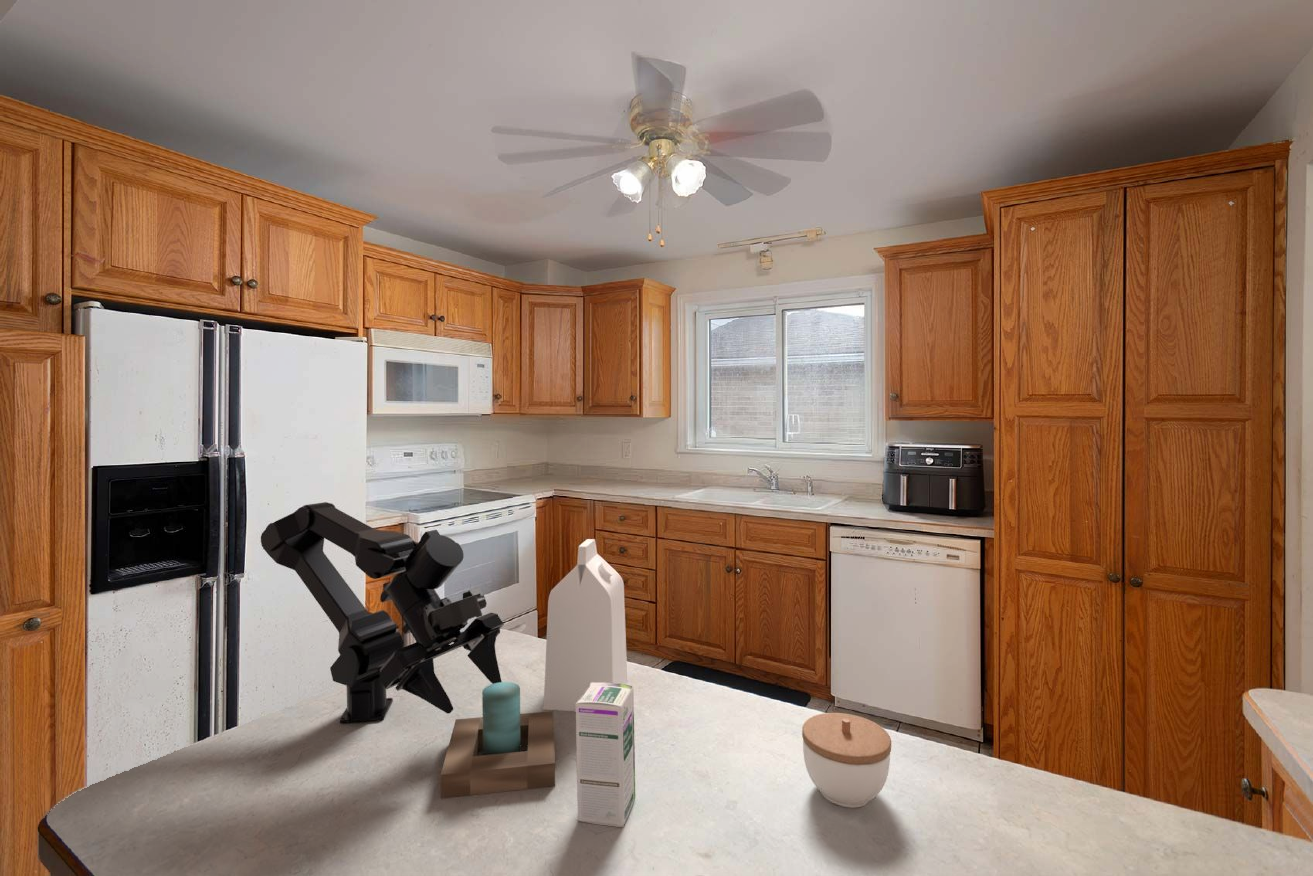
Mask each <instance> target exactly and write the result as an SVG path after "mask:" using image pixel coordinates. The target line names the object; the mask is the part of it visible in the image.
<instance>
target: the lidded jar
mask: <svg viewBox="0 0 1313 876" xmlns="http://www.w3.org/2000/svg"><path fill="white" fill-rule="evenodd" d="M801 730H802V731H801V735H802V751H803V759H804V765H805V768H806V771H807V774H808V776H809V778H810V780H811V782H812V783H813V784H814V786H815V787H816V789H818V791H820V793H821V795H822V796H823V798H824V799H826V801H828V802H830V803H832V804H834V805H836V806H839V807H842V808H846V809H847V808H848V809H849V808H850V809H854V808H856V809H857V808H861V807H865V806H866V805H868V804H869V802H870V801H871V800H873V799H875V797H877V796H878V795H879V793H880V792H881V791H882V790H883V789H884V786H885V784H886V781H887V779H888V776H889V772H890V771H889V770H890V765H891V764H890V762H891V752H892V739H891V736H890V735H889V733H888V732H887V731H886V729H885V728H883V727H882V725H879V724H878V723H876V722H874V721H873V720H870V719H868V718H865V717H863V716H859V715H854V714H851V713H841V712H827V713H820V714H816V715H813V716H811V717H809V718H808V719H806V721H804V723H803V725H802V729H801Z"/></svg>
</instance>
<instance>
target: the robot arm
mask: <svg viewBox="0 0 1313 876" xmlns="http://www.w3.org/2000/svg"><path fill="white" fill-rule="evenodd" d="M325 540H327V541H328V542H330V543H332V544H333V545H336V546H337V547H339V548H341V549H342V550H344V551H346V552H348V553H350V554H351V555H352V556H353V557H354V562H355V566H356V567H357V568H358V569H359V570H360V571H362V572H363V573H364V574H365V575H366V576H367V577H368V578H371V579H373V580H377V579H382V578H384V577H388V576H393V575H395V576H394V577H393V578H392V579H391V581H388V582H384V583H383V584H382V591H381V593H380V596H379V601H380V602H381V603H385V602H389V601H392V603H393V605H394V606H395V608H396V609H397V611H398V613H399V615H400V616H401V618H402V620H403V621H404V623H405V624H404V625H403V627H402V628H401V630H402V632H403V633H404V635H407V634H410V633H411V635H412V637H413V638H414V640H415V642H413V643H411V644H409V645H407V646H404V641H405V640H404V638H403V636H402V634H401V632H400V630H399V628H400V627H399V625H397V624H396V623H395V622H394V621H393V619H392V618H391V616H390V615H389V613H388V612H387V611H386V610H384V609H382V610H379V611H376V612H370V611H369V610H368V609H367V608H366V607H365V605H364V604H363V603H362V601H361V600H360V599H359V597H358V596H357V595H356V594H355V592H354V591H353V590H352V588H351V587H350V586H349V584H348V583H347V581H346V580H345V579H344V578H343V577H342V575H341V573H340V572H339V571H338V569H337V568H336V567H335V565H334V564H333V562H331V560H330V559H329V557H327V555H326V553H325V551H324V545H325ZM260 544H261V546H262V547H261V548H262V549H263V550H264V551H265V553H267V555H268V556H269V557H270V558H271V559H272V560H273V561H274V563H276V564H278V565H280V566H283V567H285V568H288V569H291V570H293V571H295V572H296V574H297V575H298V576H299V579H300V580H301V581H302V582H303V584H304V585H305V586H306V588H307V589H308V591H309V592H310V594H311V595H312V596H313V598H314V599H315V601H316V602H317V603H318V605H319V606H320V608H321V609H322V611H324V612H323V613H325V615H326V616H327V617H328V619H329V620H330V622H331V623H332V624H333V626H334V627H335V628H336V630H337V632H338V646H337V651H338V653H339V656H338V657H337V658H336V660H335V661H334V662H333V663H332V665H331V666H330V667H329V668H330V673H331V679H332V681H333V682H335V683H337V684H341V685H343V686H346V708H345V710H344V712H343V713H342V714H341V716H340V717H339V723H341V724H342V723H343V724H346V723H357V722H369V721H379V720H380V721H381V720H384V719H385V718H386V715H387V714H388V712H389V710H390V708H391V706H392V704H393V701H394V698H392V697H387V690H389V689H391V688H393V687H395V690H396V691H401V690H403V691H405V692H407V693H410V694H411V695H414V696H416V697H418V698H420V699H421V700H424V701H426V703H429V704H430V705H432V706H434V707H435V708H437V709H439V710H441V711H442V712H443V713H446V714H447V715H449V714H451V713H452V712H453V711H454V706H453V703H452V701H451V699H450V697H449V696H448V694H447V693H446V690H445V688H444V686H443V685H442V683H441V682H440V680H439V679H438V677H437V674H436V673H435V665H434V664H435V663H434V659H436V658H438V657H441V656H442V655H445V654H447V653H449V652H453V651H454V650H455V651H456V650H457V649H459V648H461V647H462V648H463V649H464V650H466V651H469V653H468V654H467V657H468V658H469V659H470V661H471V662H472V663H473V665H475V666H476V668H478V669H479V671H480V672H481V673H482V674H483V675H484V677H485V678H486V679H487V680H488V681H489V682H490V683H491V684H494V683H499V682H503V681H502V677H501V674H500V673H501V672H500V668H499V664H498V659H497V654H496V653H497V652H496V641H497V637H498V636H499V635H500V634H501V628H502V627H503V626H504V625H505V624H504V622H503V620H502V619H501V618H500V616H499V614H498V613H496V612H489V613H486V614H484V615H483V613H482V609H485V608H486V607H487V600H486V597H485V595H484V593H483V592H482V591H481V590H480V588H478V587H475V588H473V589H469V590H467V591H464V592H463V593H462V598H461V599H459V600H457V601H455V602H454V601H453V602H452V601H451V600H450V598H448V597H444V598H441V597H440V595H439V594H438V593H437V591H436V590H437V589H439V588H440V587H443V585H444V584H445V583H446V581H447V580H448V579H449V578H450V576H451V575H452V574H453V573H454V571H455V570H456V569H457V568H458V567H459V566H460V565H461V563H462V562H463V559H464V550H463V548H462V547H461V545H460V544H459V543H458V542H456V541H455V540H453V539H452V538H450V537H448V536H446V535H442V534H440V532H439V531H438V529H432V530H428V531H427V530H426V531H425V532H424V533H423V534H422V535H421V537H420V540H419V541H418V542H417V541H415V540H414V539H413V538H412V536H410V535H408V534H406V533H402V532H399V531H395V530H386V529H385V530H383V529H382V530H381V529H377V528H374V527H371V526H370V525H368V524H366V523H365V522H362V521H361V520H358V519H356V518H355V517H353V516H351V515H349V514H347V513H345V512H343V511H342V510H341V509H338V508H337V507H336V506H335V504H333V503H330V502H317V503H309V504H305V505H303V506H301V507H299V508H297V509H296V510H295V511H294V512H292V513H290V514H288V515H286V516H284V517H282V518H279V519H277V520H276V521H274V522H270V523H269V524H268V525H267V526H266V528H265V529H264V531H262V533H261V535H260ZM473 618H475V619H474V620H473V621H472V622H471V623H470V624H469V625H468V621H469V620H471V619H473ZM467 625H468V626H467ZM466 626H467V627H466ZM465 627H466V628H465ZM464 628H465V629H464ZM462 629H464V631H461V630H462Z"/></svg>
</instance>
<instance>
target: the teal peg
mask: <svg viewBox="0 0 1313 876" xmlns="http://www.w3.org/2000/svg"><path fill="white" fill-rule="evenodd" d="M481 693H482V694H481V695H482V700H481V701H482V717H483V750H482V755H492V754H503V753H513V752H522V750H521V749H522V746H521V739H520V714H521V687H520V685H519V684H517V683H514V682H511V681H502V682H499V683H494V684H492V683H491V684H489V685H487V686H485V687H484V688H483V689H482V692H481Z"/></svg>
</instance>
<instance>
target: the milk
mask: <svg viewBox="0 0 1313 876" xmlns="http://www.w3.org/2000/svg"><path fill="white" fill-rule="evenodd" d="M577 549H578V550H577V563H576V565H575V566H574V568H572V569H571V571H569V572H568V573H567V574H566V575H565V576H564V577H563V578H562V579H561V580H560V581H559V582H558V583H557V584H556V585H555V586H554V587H553V588H552V589H551V590H550V593H549V595H548V599H547V600H548V601H547V618H546V619H547V620H546V626H547V627H546V643H545V645H546V646H545V665H544V667H545V668H544V670H545V671H544V687H543V689H544V690H543V691H544V692H543V710H547V711H548V710H550V711H562V712H576V705H575V704H576V703H577V702H578V700H579V699H580V697H581V696H582V694H583V693H584V692H585V691H586V690H587V688H588V687H589V685H590V683H591V682H593V683H617V684H624V685H628V684H627V683H628V664H627V663H628V659H627V638H626V637H627V634H626V609H625V607H626V605H625V584H624V580H623V577H622V576H621V575H620V574H619V573H618V571H616V569H615V568H613V567H612V566H611V564H609V563H608V562H607V561H606V560H605V559H604V558H603V557H602V556H601V555H600V554H598V551H597V550H598V549H597V544H596V539H595V538H592V539H591V538H588V539H587V538H586V539H585V541H583V542H582V543H581V544H579V546H578V548H577Z"/></svg>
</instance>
